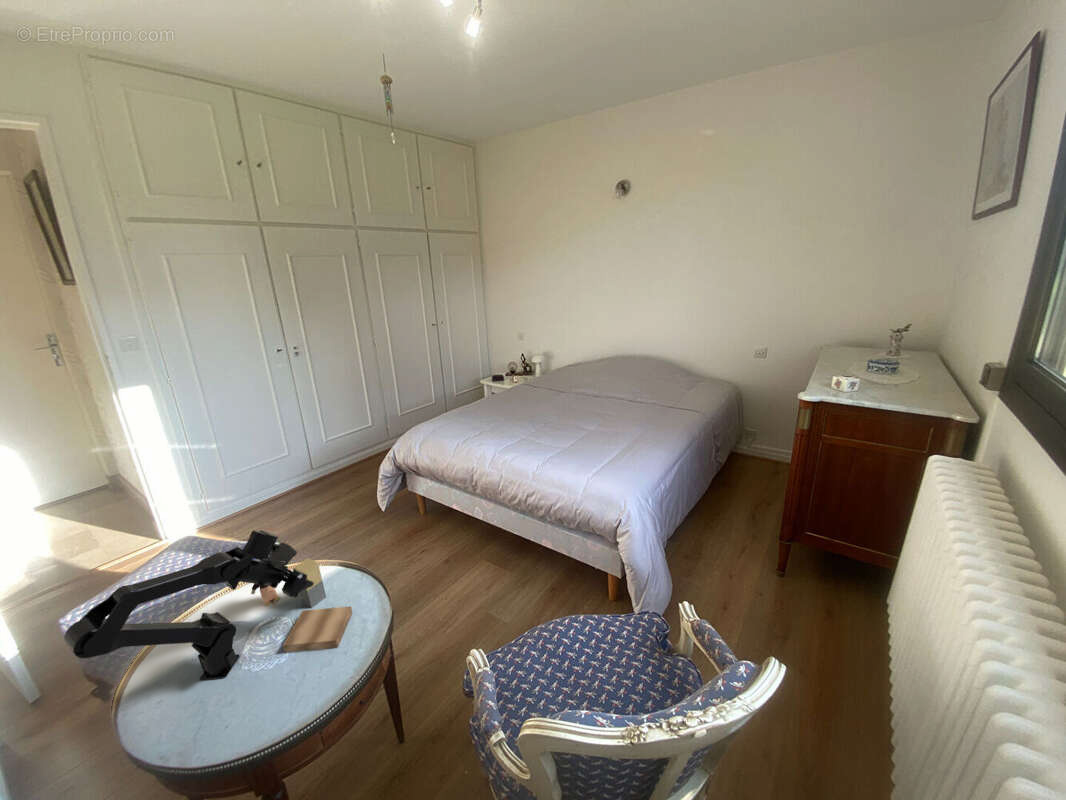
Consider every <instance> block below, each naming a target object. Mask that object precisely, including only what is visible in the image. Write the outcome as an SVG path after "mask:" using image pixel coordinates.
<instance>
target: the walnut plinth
mask: <svg viewBox="0 0 1066 800" xmlns="http://www.w3.org/2000/svg"><path fill="white" fill-rule="evenodd" d="M352 615H353V610H352V606H339V607H329V608H319V609H305V610H301V613H300V614H299V616H298V618H297V620H296V622H295V623H294V625H293V628H292V629H291V630H290V632H289V634H288V636H287V638H286V639H285V641H284V642H283V645H282V646H283V649H284V653H292V652H293V653H294V652H303V651H305V652H306V651H314V650H316V651H317V650H323V649H325V650H326V649H334V648H336V649H337V648H339V646H340V644H341V642H342V639H343V637H344V635H345V632H346V629H347V627H348V625H349V623H350V622H349V621H350V619H351V617H352Z"/></svg>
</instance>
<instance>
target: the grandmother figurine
mask: <svg viewBox="0 0 1066 800" xmlns="http://www.w3.org/2000/svg"><path fill="white" fill-rule="evenodd" d="M258 588H259V594H260V596H261V599H262V601H263V602H262V604H263V605H264V606H269V605H271V603H272V602H274V603H275V602H277V601H278V600H279V598H280V595H279V594H278V593H277V590H276V588H272V587H271V586H270V585H264V586H263V587H262V586H259V585H257V584H254V583H253V585H252V587H251V592H250V594H251V595H255V593H256V591H257V590H258ZM271 600H272V601H271Z"/></svg>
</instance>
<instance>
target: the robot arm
mask: <svg viewBox="0 0 1066 800" xmlns="http://www.w3.org/2000/svg"><path fill="white" fill-rule="evenodd" d="M278 539H279V535H277V534H274V533H271V532H270V531H269V532H268V531H266V530H252V531H251V533H250V535H249V538H248V539H247V541H246V544H245V545H244V547H243V548H241V547H239V546H237V547H235V548H232V549H229V550H227V551H224V552H223V551H222V552H216V553H214V554H211V555H210V556H209V555H208V556H207V557H205V558H203V559H201V560H199V562H198V563H196V564H194V565H192V566H189V567H187V568H184V569H179V570H176V571H172V572H169V573H166V574H164V575H159V576H157V577H152V578H150V579H145V580H143V581H139V582H137V583H133V584H124V585H122V586H120V587H118V588H116V590H114V591H113V592H112V593H111V594H110V596H109V597H107V598H106V599H104V600H102V601H101V602H99V603H98V604H96V605H95V606H93V607H92V608H90V609H89V611H87V612H86V613H85V615H84V616H82V618H80V619H79V620H78V621H76V622H74V623H73V624H71V626H70V627H69V628H68V629H67V630H66V631H65V634H64V635H63V641H64V642H65V644H66V646H67V647H68V648H69V649H70V650H71V652H72V653H73V654H74V655H75V656H76V657H77V658H79V659H90V658H95V657H99V656H104V655H109V654H110V653H113V652H115V651H117V650H119V649H122V648H131V647H145V646H146V647H147V646H149V647H150V646H162V645H176V644H178V645H179V644H190V643H192V644H191V647H192V648H193V649H194V650H195V651H196V652H197V653H198V654H197V658H198V660H199V664H200V666H201V670H202V672H203V673H202V674H201V675H200V677H199V680H200V681H206V680H207V681H208V680H214V679H215V680H217V679H224V678H227V677H228V675H229V673H230V672H231V671H232V669H233V668H234V666H235V665H236V663H237V661H238V660H239V658H240V654H237V653H235V649H234V648H233V644H234V643H233V642H234V637H235V635H236V633H237V627H236V625H235V624H233V623H232V622H231V621H230V620H229V619H228V618H226V617H225V616H224V615H222V614H221V613H220V612H218V611H216V612H214V613H213V612H212V613H210V612H209V613H208V612H203V613H202V614H201V616H200V618H198V619H197V620H194V621H185V622H183V621H180V622H149V623H147V622H144V623H127V620H128V619H129V618H130V616H131V614H132V612H133V611H135V609H136V608H137V607H138V606H139V605H142V604H146V603H149V602H152V601H155V600H157V599H161V598H164V597H166V596H170V595H173V594H176V593H178V592H179V593H180V592H182V591H185V590H187V589H191V588H194V587H198V586H202V585H205V586H206V585H207V586H208V585H217V584H223V583H225V585H226V587H228V588H229V589H231V590H232V591H235V590H236V589H237V587H238V585H239V583H247V584H253V585H254V584H257V585H259V586H262V587H263V586H264V585H270V586H271V587H272V588H275V589H277V588H278V585H279V584H281V582H284V584H283V586H282V588H281V591H282V593H283V594H284V595H286V596H288V597H290V598H297V597H298V596H300V594H299V593H300V592H301V591H303V590H305V589H307V588H309V587H311V586H313V584H314V582H312V581H310V580H307V579H306V578H307V575H306V574H305V573H303V572H301V571H296V570H294V571H293V570H290V569H289V568H288V566H287V565H288V564H289V563H290V561H291V560H292V559H293V558H294V557H296V555H297V553H298V551H297V549H295V548H293V546H291V545H290V544H288V543H285V542H278V543H277V541H278Z"/></svg>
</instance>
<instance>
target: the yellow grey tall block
mask: <svg viewBox="0 0 1066 800" xmlns="http://www.w3.org/2000/svg"><path fill="white" fill-rule="evenodd" d="M294 570H296V571H301V572H303V573H305V574H306V575H307V578H306V579H307V580H310V581H312V582H314V584H313V586H311V587H309V588H307V589H305V590H303V591H301V592H300V593H299V596H300V600H301V603H302V604H303V605H306V606H307V607H309V608H311V609H313V608H314V607H315V606H317V605H318V604H319V603H321V602H322V601H324V600H325V599H326V598H327V595H326V594H327V593H326V591H325V586H324V582H323V579H322V578H323V577H322V573H321V570H320V565H319V562H317V561H315V560H313V559H311V558H309V557H307V558H305V559H304V560H302V561H301V562H300V563H297V564H296V565H295V566H293V567H292V571H294Z"/></svg>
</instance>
